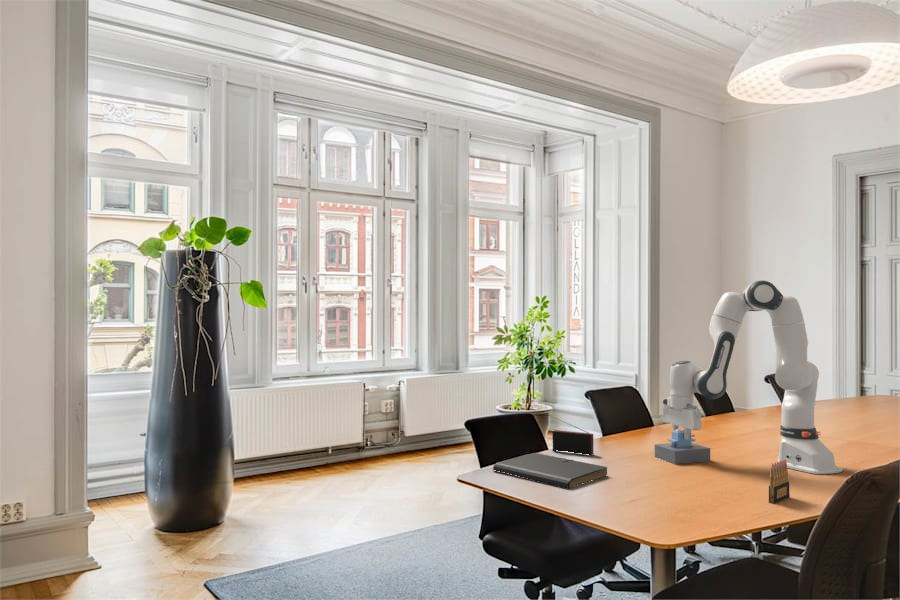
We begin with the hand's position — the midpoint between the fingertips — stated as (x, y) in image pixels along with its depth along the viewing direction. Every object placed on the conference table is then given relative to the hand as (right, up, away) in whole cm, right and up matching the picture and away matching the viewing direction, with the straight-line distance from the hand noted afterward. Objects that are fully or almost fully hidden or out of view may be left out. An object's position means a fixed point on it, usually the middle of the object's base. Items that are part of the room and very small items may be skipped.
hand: (681, 437), depth 261 cm
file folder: (-55, -9, -22) cm, 60 cm away
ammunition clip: (+11, -8, -56) cm, 57 cm away
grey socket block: (0, -8, 0) cm, 8 cm away
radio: (-41, -9, +12) cm, 44 cm away
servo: (0, -6, 0) cm, 6 cm away
